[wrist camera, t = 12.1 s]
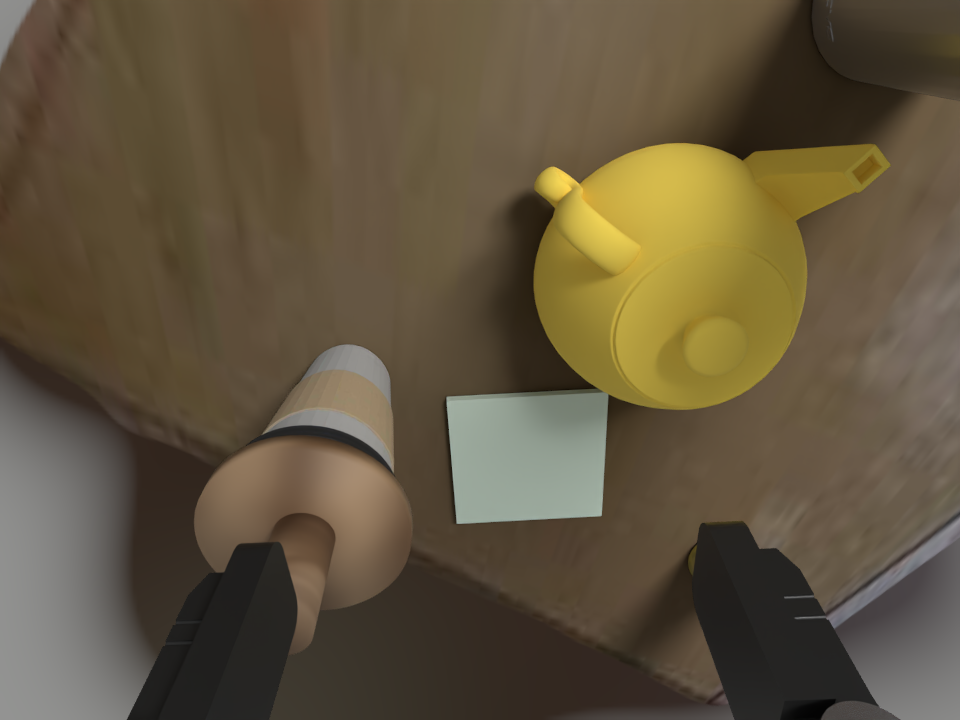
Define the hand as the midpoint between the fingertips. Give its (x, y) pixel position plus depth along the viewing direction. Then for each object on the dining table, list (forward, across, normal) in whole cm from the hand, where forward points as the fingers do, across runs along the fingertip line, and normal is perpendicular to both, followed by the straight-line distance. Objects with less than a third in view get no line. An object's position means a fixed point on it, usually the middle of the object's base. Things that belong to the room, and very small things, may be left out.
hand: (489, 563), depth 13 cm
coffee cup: (+32, +11, +14) cm, 37 cm away
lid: (+17, +10, +14) cm, 24 cm away
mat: (+32, -2, +22) cm, 39 cm away
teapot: (+33, -12, +5) cm, 35 cm away
